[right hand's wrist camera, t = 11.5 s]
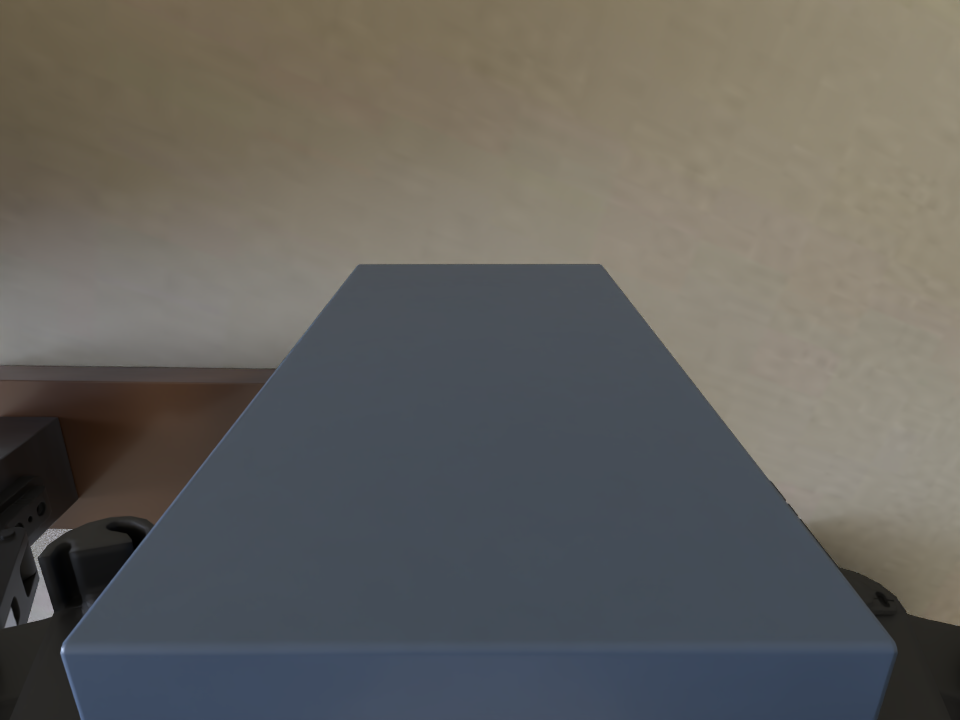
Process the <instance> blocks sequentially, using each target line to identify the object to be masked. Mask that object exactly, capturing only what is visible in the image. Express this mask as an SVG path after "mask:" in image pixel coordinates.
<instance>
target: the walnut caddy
mask: <svg viewBox="0 0 960 720" xmlns="http://www.w3.org/2000/svg"><path fill="white" fill-rule="evenodd" d="M275 370H276V369H226V368H146V367H66V366H0V493H1V492H2V491H4V490H5V489H6V488H7V487H9V486H10V485H11V484H12V483H14V482H15V481H16V480H17V479H18V478H20V477H21V476H24V475H25V476H40V477H41V478H42V479H43V482H44V486H45V487H46V491H47V494H48V498H49V502H50V505H51V509H52V512H51V515H50V517H49V518H48V519H47V520H46V521H45V522H44V523H43V524H41V526H40V527H39V528H38V529H36V531H35V532H34V533H32V534H31V535H30V536H29V537H28V540H29V544H30V546H31V545H32V544H33V543H34V542H35V541H36V540H37V539H38V538H39V537H40V536H41V535H42V534H43V533H44V532H45V531H46V530H47V529H75V528H77V527H80V526H82V525H84V524H86V523H89V522H93V521H97V520H101V519H105V518H109V517H121V516H133V517H138V518H143V519H147V520H148V521H150V522H151V523H152V524H153V525H155V524H156V523H157V522H158V520H159V519H160V518H161V516H162V515H163V514H164V513H165V511H166V510H167V509H168V507H169V506H170V505H171V504H172V502H173V501H174V500H175V498H176V497H177V496H178V495H179V493H180V492H181V491H182V490H183V488H184V487H185V486H186V484H187V483H188V482H189V481H190V479H191V478H192V477H193V475H194V474H195V473H196V472H197V470H198V469H199V468H200V466H201V465H202V464H203V463H204V461H205V460H206V459H207V457H208V456H209V455H210V454H211V452H212V451H213V450H214V449H215V447H216V446H217V445H218V443H219V442H220V441H221V440H222V438H223V437H224V436H225V434H226V433H227V432H228V431H229V429H230V428H231V427H232V425H233V424H234V423H235V422H236V420H237V419H238V418H239V417H240V415H241V414H242V413H243V411H244V410H245V409H246V408H247V406H248V405H249V404H250V402H251V401H252V400H253V399H254V397H255V396H256V395H257V393H258V392H259V391H260V390H261V388H262V387H263V386H264V384H265V383H266V382H267V381H268V379H269V378H270V377H271V376H272V374H273V373H274V372H275Z"/></svg>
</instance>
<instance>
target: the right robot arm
mask: <svg viewBox="0 0 960 720" xmlns="http://www.w3.org/2000/svg"><path fill="white" fill-rule="evenodd" d="M769 481H770V480H769ZM770 482H771V481H770ZM771 483H772V482H771ZM772 484H773V483H772ZM773 486H774V487H775V485H774V484H773ZM775 488H776V487H775ZM776 490H777V491H778V489H777V488H776ZM778 492H779V491H778ZM779 493H780V492H779ZM780 495H781V496H782V494H781V493H780ZM782 497H783V496H782ZM783 499H784V500H785V498H784V497H783ZM785 501H786V500H785ZM788 505H789V504H788ZM789 506H790V505H789ZM790 508H791V509H792V507H791V506H790ZM792 510H793V509H792ZM793 511H794V510H793ZM794 513H795V514H796V512H795V511H794ZM796 515H797V514H796ZM797 517H798V515H797ZM800 520H801V519H800ZM801 522H802V523H803V521H802V520H801ZM803 524H804V523H803ZM804 526H805V527H806V528H807V526H806V525H805V524H804ZM153 527H154V525H153V524H152V523H151V522H150V521H148V520H147V519H143V518H138V517H133V516H121V517H109V518H105V519H101V520H97V521H93V522H89V523H86V524H84V525H82V526H80V527H77V528H75V529H73V530H70V531H68V532H66V533H65V534H63V535H62V536H60V537H59V538H57V539H56V540H54V541H53V542H52V543H50V544H49V545H48V546H47V547H46V548H45V550H44V551H43V552H42V553H41V554H40V556H39V557H38V561H39V564H40V567H41V570H42V574H43V577H44V580H45V583H46V587H47V590H48V593H49V596H50V600H51V603H52V606H53V609H54V614H53V616H52V617H50V618H46V619H43V620H39V621H35V622H30V623H26V624H21V625H17V626H12V627H8V628H3V629H0V720H81V718H80V715H79V712H78V708H77V705H76V702H75V699H74V696H73V693H72V689H71V686H70V683H69V680H68V677H67V673H66V670H65V667H64V664H63V661H62V658H61V654H60V653H61V647H62V644H63V642H64V641H65V639H66V638H67V637H68V635H69V634H70V633H71V632H72V630H73V629H74V628H75V627H76V625H77V624H78V623H79V621H80V620H81V619H82V618H83V616H84V615H85V614H86V612H87V611H88V610H89V609H90V607H91V606H92V605H93V603H94V602H95V601H96V600H97V598H98V597H99V596H100V595H101V593H102V592H103V591H104V589H105V588H106V587H107V586H108V584H109V583H110V582H111V580H112V579H113V578H114V577H115V575H116V574H117V573H118V571H119V570H120V569H121V568H122V566H123V565H124V564H125V562H126V561H127V560H128V559H129V557H130V556H131V555H132V554H133V552H134V551H135V550H136V548H137V547H138V546H139V545H140V543H141V542H142V541H143V539H144V538H145V537H146V536H147V534H148V533H149V532H150V530H151V529H152V528H153ZM807 529H808V528H807ZM808 531H809V532H810V530H809V529H808ZM810 533H811V532H810ZM811 535H812V536H813V537H814V535H813V534H812V533H811ZM814 538H815V537H814ZM815 540H816V541H817V539H816V538H815ZM817 542H818V541H817ZM818 544H819V545H820V546H821V544H820V543H819V542H818ZM821 547H822V546H821ZM822 549H823V550H824V548H823V547H822ZM824 551H825V550H824ZM825 553H826V554H827V555H828V553H827V552H826V551H825ZM828 556H829V555H828ZM829 558H830V559H831V560H832V558H831V557H830V556H829ZM832 562H833V563H834V564H835V562H834V561H833V560H832ZM835 565H836V564H835ZM836 567H837V568H838V569H839V571H840V572H841V573H842V574H843V576H844V577H845V578H846V580H847V581H848V582H849V583H850V585H851V586H852V587H853V589H854V590H855V591H856V592H857V594H858V595H859V596H860V598H861V599H862V600H863V601H864V603H865V604H866V605H867V607H868V608H869V609H870V610H871V612H872V613H873V614H874V616H875V617H876V618H877V619H878V621H879V622H880V623H881V625H882V626H883V627H884V628H885V630H886V631H887V632H888V634H889V635H890V636H891V637H892V639H893V640H894V641H895V643H896V646H897V651H898V654H897V658H896V661H895V664H894V667H893V670H892V674H891V677H890V680H889V683H888V686H887V690H886V693H885V696H884V699H883V702H882V706H881V709H880V712H879V715H878V719H877V720H960V626H956V625H951V624H947V623H942V622H937V621H933V620H928V619H924V618H919V617H916V616H912V615H909V614H907V613H906V611H905V609H904V608H903V606H902V605H901V603H900V602H899V600H898V599H897V598H896V596H894V595H893V594H892V593H891V592H889V591H888V590H887V589H886V588H884V587H883V586H882V585H881V584H879V583H877V582H875V581H873V580H871V579H869V578H867V577H865V576H863V575H861V574H859V573H856V572H853V571H849V570H846V569H842V568H839V567H838V566H837V565H836Z"/></svg>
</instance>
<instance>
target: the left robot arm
mask: <svg viewBox="0 0 960 720" xmlns="http://www.w3.org/2000/svg"><path fill="white" fill-rule="evenodd" d="M51 512H52V509H51V505H50V502H49V498H48V494H47V491H46V487H45V486H44V482H43V479H42V478H41V477H40V476H25V475H24V476H21V477H20V478H18V479H17V480H16V481H15V482H14V483H12V484H11V485H10V486H9V487H7V488H6V489H5V490H4V491H2V492H1V493H0V629H3V628H8V627H12V626H17V625H21V624H26V623H27V621H28V618H29V614H30V611H31V607H32V604H33V600H34V596H35V593H36V589H37V586H38V582H39V575H38V571H37V568H36V564H35V561H34V557H33V554H32V550H31V547H30V544H29V540H28V537H29V536H30V535H31V534H32V533H34V532H35V531H36V529H38V528H39V527H40V526H41V524H43V523H44V522H45V521H46V520H47V519H48V518H49V517H50V515H51Z"/></svg>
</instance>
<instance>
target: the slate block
mask: <svg viewBox="0 0 960 720" xmlns="http://www.w3.org/2000/svg"><path fill="white" fill-rule="evenodd" d="M60 654H61V658H62V661H63V664H64V667H65V670H66V673H67V677H68V680H69V683H70V686H71V689H72V693H73V696H74V699H75V702H76V705H77V708H78V712H79V715H80V718H81V720H877V719H878V715H879V712H880V709H881V706H882V702H883V699H884V696H885V693H886V690H887V686H888V683H889V680H890V677H891V674H892V670H893V667H894V664H895V661H896V658H897V654H898V651H897V646H896V643H895V641H894V640H893V639H892V637H891V636H890V635H889V634H888V632H887V631H886V630H885V628H884V627H883V626H882V625H881V623H880V622H879V621H878V619H877V618H876V617H875V616H874V614H873V613H872V612H871V610H870V609H869V608H868V607H867V605H866V604H865V603H864V601H863V600H862V599H861V598H860V596H859V595H858V594H857V592H856V591H855V590H854V589H853V587H852V586H851V585H850V583H849V582H848V581H847V580H846V578H845V577H844V576H843V574H842V573H841V572H840V571H839V569H838V568H837V567H836V565H835V564H834V563H833V562H832V560H831V559H830V558H829V556H828V555H827V554H826V553H825V551H824V550H823V549H822V547H821V546H820V545H819V544H818V542H817V541H816V540H815V538H814V537H813V536H812V535H811V533H810V532H809V531H808V529H807V528H806V527H805V526H804V524H803V523H802V522H801V520H800V519H799V518H798V517H797V515H796V514H795V513H794V511H793V510H792V509H791V508H790V506H789V505H788V504H787V502H786V501H785V500H784V499H783V497H782V496H781V495H780V493H779V492H778V491H777V490H776V488H775V487H774V486H773V484H772V483H771V482H770V481H769V479H768V478H767V477H766V475H765V474H764V473H763V472H762V470H761V469H760V468H759V466H758V465H757V464H756V463H755V461H754V460H753V459H752V458H751V456H750V455H749V454H748V452H747V451H746V450H745V449H744V447H743V446H742V445H741V443H740V442H739V441H738V440H737V438H736V437H735V436H734V434H733V433H732V432H731V431H730V429H729V428H728V427H727V425H726V424H725V423H724V422H723V420H722V419H721V418H720V416H719V415H718V414H717V413H716V411H715V410H714V409H713V407H712V406H711V405H710V404H709V402H708V401H707V400H706V398H705V397H704V396H703V395H702V393H701V392H700V391H699V389H698V388H697V387H696V386H695V384H694V383H693V382H692V380H691V379H690V378H689V377H688V375H687V374H686V373H685V371H684V370H683V369H682V368H681V366H680V365H679V364H678V362H677V361H676V360H675V359H674V357H673V356H672V355H671V353H670V352H669V351H668V350H667V348H666V347H665V346H664V344H663V343H662V342H661V341H660V339H659V338H658V337H657V335H656V334H655V333H654V332H653V330H652V329H651V328H650V326H649V325H648V324H647V323H646V321H645V320H644V319H643V317H642V316H641V315H640V314H639V312H638V311H637V310H636V308H635V307H634V306H633V305H632V303H631V302H630V301H629V299H628V298H627V297H626V296H625V294H624V293H623V292H622V290H621V289H620V288H619V287H618V285H617V284H616V283H615V281H614V280H613V279H612V278H611V276H610V275H609V274H608V273H607V271H606V270H605V269H604V267H603V266H602V265H600V264H360V265H357V267H356V268H355V269H354V271H353V272H352V273H351V274H350V276H349V277H348V278H347V279H346V281H345V282H344V283H343V285H342V286H341V287H340V288H339V290H338V291H337V292H336V294H335V295H334V296H333V297H332V299H331V300H330V301H329V303H328V304H327V305H326V306H325V308H324V309H323V310H322V312H321V313H320V314H319V315H318V317H317V318H316V319H315V320H314V322H313V323H312V324H311V326H310V327H309V328H308V329H307V331H306V332H305V333H304V335H303V336H302V337H301V338H300V340H299V341H298V342H297V344H296V345H295V346H294V347H293V349H292V350H291V351H290V352H289V354H288V355H287V356H286V358H285V359H284V360H283V361H282V363H281V364H280V365H279V367H278V368H277V369H276V370H275V372H274V373H273V374H272V376H271V377H270V378H269V379H268V381H267V382H266V383H265V384H264V386H263V387H262V388H261V390H260V391H259V392H258V393H257V395H256V396H255V397H254V399H253V400H252V401H251V402H250V404H249V405H248V406H247V408H246V409H245V410H244V411H243V413H242V414H241V415H240V417H239V418H238V419H237V420H236V422H235V423H234V424H233V425H232V427H231V428H230V429H229V431H228V432H227V433H226V434H225V436H224V437H223V438H222V440H221V441H220V442H219V443H218V445H217V446H216V447H215V449H214V450H213V451H212V452H211V454H210V455H209V456H208V457H207V459H206V460H205V461H204V463H203V464H202V465H201V466H200V468H199V469H198V470H197V472H196V473H195V474H194V475H193V477H192V478H191V479H190V481H189V482H188V483H187V484H186V486H185V487H184V488H183V490H182V491H181V492H180V493H179V495H178V496H177V497H176V498H175V500H174V501H173V502H172V504H171V505H170V506H169V507H168V509H167V510H166V511H165V513H164V514H163V515H162V516H161V518H160V519H159V520H158V522H157V523H156V524H155V525H154V527H153V528H152V529H151V530H150V532H149V533H148V534H147V536H146V537H145V538H144V539H143V541H142V542H141V543H140V545H139V546H138V547H137V548H136V550H135V551H134V552H133V554H132V555H131V556H130V557H129V559H128V560H127V561H126V562H125V564H124V565H123V566H122V568H121V569H120V570H119V571H118V573H117V574H116V575H115V577H114V578H113V579H112V580H111V582H110V583H109V584H108V586H107V587H106V588H105V589H104V591H103V592H102V593H101V595H100V596H99V597H98V598H97V600H96V601H95V602H94V603H93V605H92V606H91V607H90V609H89V610H88V611H87V612H86V614H85V615H84V616H83V618H82V619H81V620H80V621H79V623H78V624H77V625H76V627H75V628H74V629H73V630H72V632H71V633H70V634H69V635H68V637H67V638H66V639H65V641H64V642H63V644H62V647H61V653H60Z"/></svg>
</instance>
